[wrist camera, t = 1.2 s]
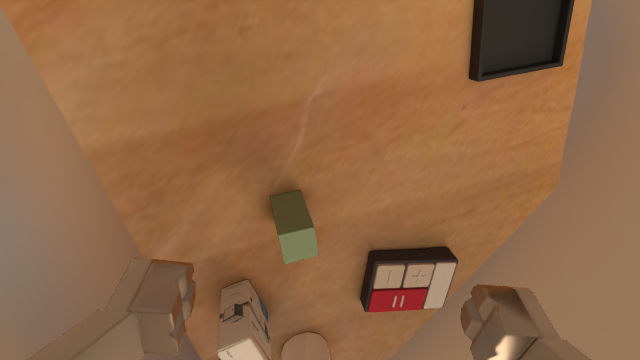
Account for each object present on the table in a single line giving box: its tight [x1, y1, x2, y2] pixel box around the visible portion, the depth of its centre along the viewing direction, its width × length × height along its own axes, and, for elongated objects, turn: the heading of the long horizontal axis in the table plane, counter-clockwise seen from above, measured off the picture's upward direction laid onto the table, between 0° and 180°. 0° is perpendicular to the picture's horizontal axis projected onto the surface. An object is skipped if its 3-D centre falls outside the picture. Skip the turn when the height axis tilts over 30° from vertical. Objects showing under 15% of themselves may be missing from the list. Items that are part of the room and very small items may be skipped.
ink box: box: [217, 280, 272, 360], centre depth 54 cm, size 9×5×12 cm, turn 19°
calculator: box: [360, 248, 458, 312], centre depth 63 cm, size 11×4×15 cm
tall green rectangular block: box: [270, 190, 319, 264], centre depth 49 cm, size 4×4×10 cm
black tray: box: [469, 0, 574, 82], centre depth 48 cm, size 14×13×2 cm
